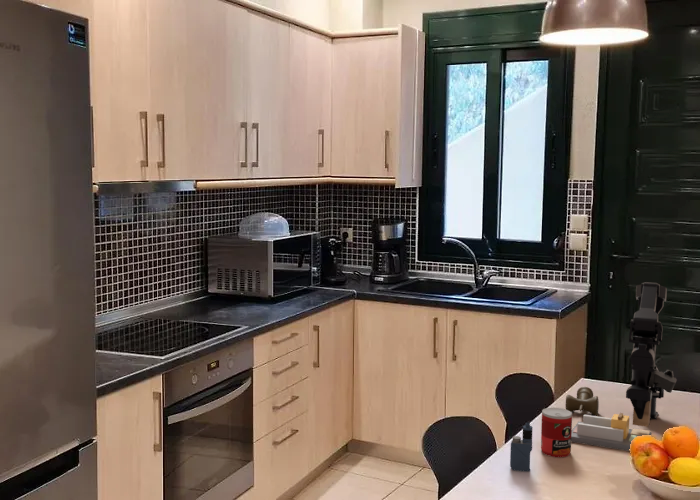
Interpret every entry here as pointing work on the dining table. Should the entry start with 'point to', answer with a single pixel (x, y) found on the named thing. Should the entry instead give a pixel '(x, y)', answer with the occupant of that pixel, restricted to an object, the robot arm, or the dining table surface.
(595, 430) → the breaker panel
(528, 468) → the vaping device
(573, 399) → the kendama
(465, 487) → the dining table surface
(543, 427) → the canned food
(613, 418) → the knob
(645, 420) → the walnut block
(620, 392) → the dining table surface
